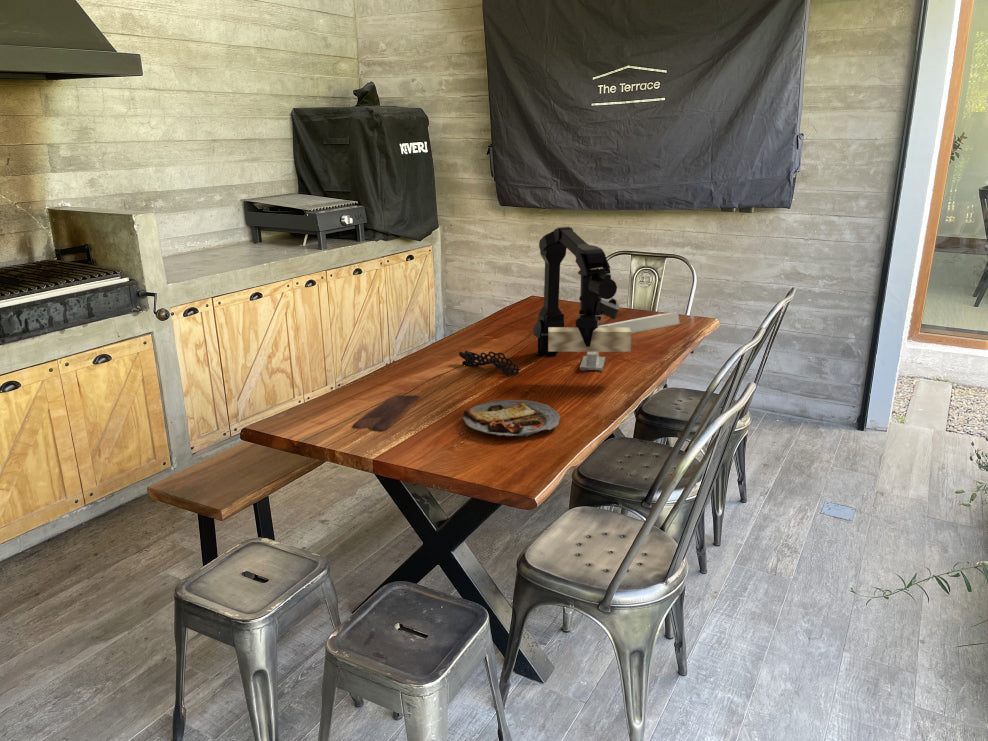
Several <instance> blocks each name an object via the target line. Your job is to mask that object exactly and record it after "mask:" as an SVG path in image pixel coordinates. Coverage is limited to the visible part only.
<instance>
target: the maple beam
mask: <svg viewBox="0 0 988 741" xmlns="http://www.w3.org/2000/svg"><path fill="white" fill-rule="evenodd" d="M631 347H632V334H631V330H630V328H624V327H598V328H596V329H595V330H594V331H593V335H592V339H591V344H590V347H586V345H585V343H584V340H583V338H582V336H581V333H580V331H579V329H578V328H577V327H576V326H575V327H572V326H571V327H570V326H569V327H568V326H567V327H565V326H564V327H548V351H557V352H558V353H560V352H564V353H565V352H571V353H572V352H573V353H574V352H575V353H577V352H581V353H583V352H584V353H585V352H586V353H587V352H599V353H601V352H602V353H603V352H607V353H612V352H613V353H623V352H624V353H627V352H629V353H631V351H632V350H631V349H632V348H631Z"/></svg>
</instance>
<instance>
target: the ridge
mask: <svg viewBox="0 0 988 741" xmlns="http://www.w3.org/2000/svg"><path fill="white" fill-rule="evenodd" d="M605 363H606V356H600V352H586V355H583V357H582V360H581V363H580V365H579V370H580V369H581V370H580V371H585V370H599V371H598V372H603V370H604V367H603V366H605Z"/></svg>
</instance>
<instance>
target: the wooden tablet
mask: <svg viewBox="0 0 988 741" xmlns="http://www.w3.org/2000/svg"><path fill="white" fill-rule="evenodd" d="M420 398H421V396H420V395H411V394H410V395H401V394H399V395H393V396H391V397H389V398H387V399H386V400H384V401H382V402H381V403H380V404H378V405H377V406H375V407H374V408H373V409H371V410H369V411H368V412H366V414H364V415H363V416H361V417H360V418H359V419H357V421H355V422H354V424H352V428H353V429H356V430H357V429H360V430H362V429H368V430H369V431H374V432H385V431H387V430H388V429H390V427H392V426H393V425H394V424H396V423H397V422H399V420H400V419H401V418H402V417H404V415H405V414H406V413H408V411H410V409H411V408H413V406H415V404H416V403H417V402H418V401H419V399H420Z"/></svg>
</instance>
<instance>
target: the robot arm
mask: <svg viewBox="0 0 988 741" xmlns="http://www.w3.org/2000/svg"><path fill="white" fill-rule="evenodd" d="M538 247H539V252H540V253H539V254H540V256H541V258H542V259H543V261H544V280H543V281H544V285H543V286H544V288H543V289H544V290H543V306H542V308H541V309H540V311H539V312H538V315H537V321H536V323H535V324H534V326H533V328H532V332H533V336H534V337H535V338H537V352H536V355H537V356H542V357H543V356H546V357H547V356H548V357H556V356H558V354H559V352H557V351H548V327H565V321H564V320H565V315H564V313H562V311H561V309H560V306H559V304H560V301H559V300H560V280H561V279H560V278H561V277H560V276H561V264H562V262H563V261H564V259H565V258H566V254H567V249H568V251H569V252H570V253H571V254H573V256H574V257H575V264H577V266H578V269H579V271H578V272H577V274H578V275H580V291H579V292H580V294H579V298H578V300H579V310H578V317H577V318H576V319H575V327H577V328H578V329H579V331H580V333H581V336H582V338H583V340H584V343H585V345H586V347H590V344H591V339H592V335H593V331H594V330H595V329H596V328H598V326H600V325H599V322H600V321H601V320H602V316H605V317H609V319H612V320H616V318H617V316H618V313H619V311H620V308H621V307H620V305H619V304H617V303H618V302H617V299H615V298H613V297H614V296H616V294H617V290H618V286H617V283H616V282H615V280H614V279H612V275H611V266H610V263H609V261H608V259H607V256H606V253H605V251H604V250H603V249H602V248H601V247H599V246H597V245H593V244H590V243H587V242H586V241H585V240H584V239H583V238H582V237H580V236H579V235H578V234H577V233H576V232H574V228H572V227H570V226H563V227H561V226H560V227H556V228H555V229H554V230H553V231H551V232H549V233H547V234H545V235H543V236H542V238H540V240H539V243H538Z"/></svg>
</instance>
